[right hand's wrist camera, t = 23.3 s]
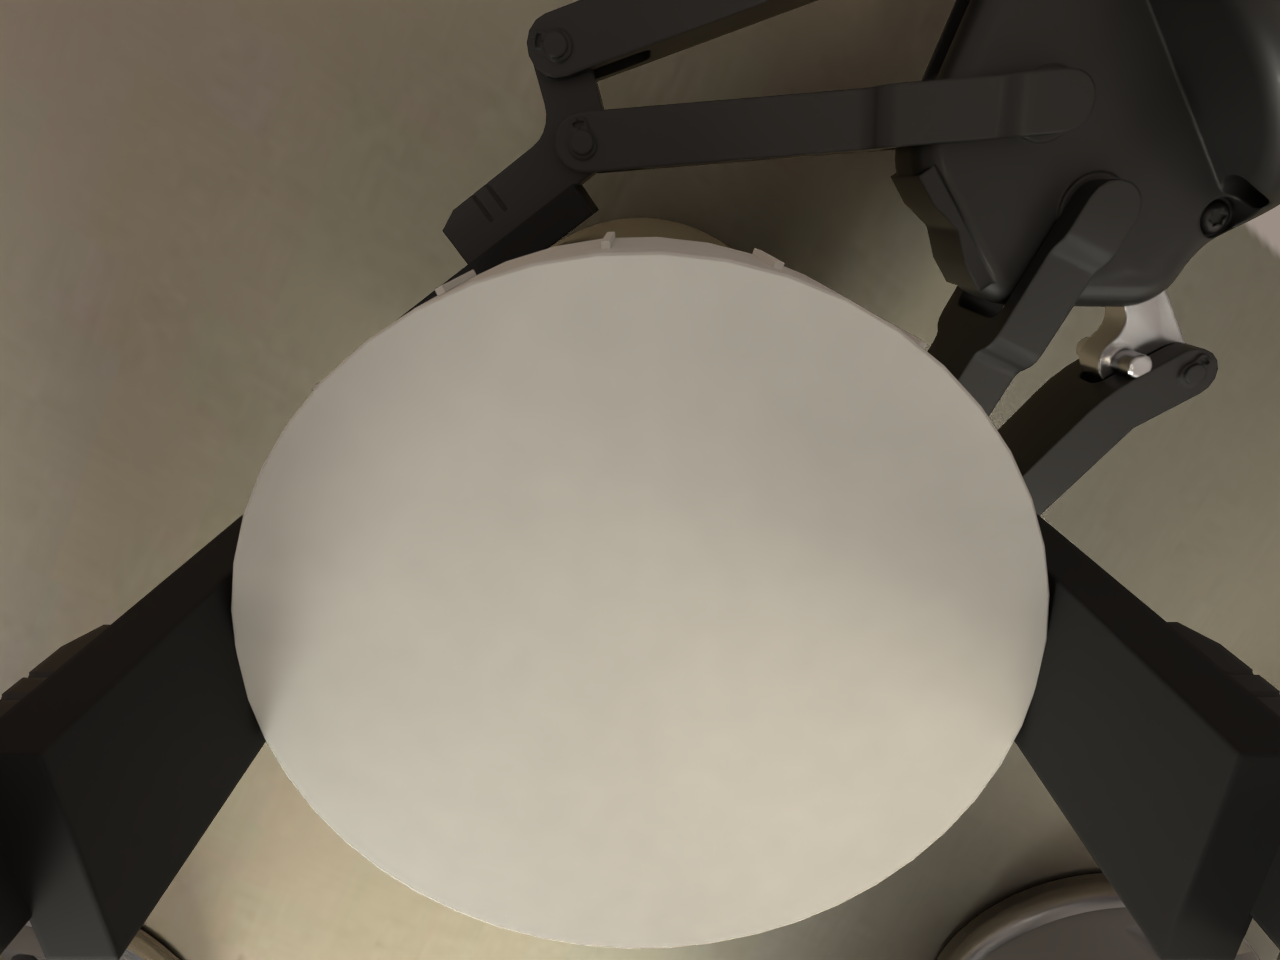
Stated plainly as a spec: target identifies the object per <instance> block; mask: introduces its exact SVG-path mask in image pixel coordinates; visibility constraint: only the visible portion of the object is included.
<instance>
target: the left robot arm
mask: <svg viewBox="0 0 1280 960" xmlns="http://www.w3.org/2000/svg"><path fill="white" fill-rule="evenodd" d="M814 1H817V0H579V1H577V2H574V3H571V4H569V5H566V6H564V7H561V8H558V9H556V10H553V11H551V12H548V13H545V14H544V15H542V16H541V17H539V18H538V19H536V21H535V22H534V24H533V25H532V27H531V28H530V30H529V35H528V40H527V46H528V53H529V57H530V58H531V60H532V62H533V64H534V68H535V71H536V75H537V78H538V82H539V85H540V89H541V92H542V96H543V99H544V103H545V108H546V125H545V129H544V132H543V134H542V136H541V138H540V139H539V141H538V142H537V143H536V144H535V145H534V146H533V147H532V148H531V149H529V150H528V151H527V152H526V153H524V154H523V155H522V156H521V157H519V158H518V159H517V160H516V161H514V162H513V163H512V164H511V165H509V166H508V167H507V168H506V169H504V170H503V171H502V172H501V173H499V174H498V175H497V176H496V177H494V178H493V179H492V180H491V181H489V182H488V183H487V184H486V185H484V186H483V187H482V188H481V189H479V190H478V191H477V192H476V193H475V194H474V195H472V196H471V197H469V198H468V199H467V200H466V201H464V202H463V203H462V204H461V205H459V206H458V207H457V208H456V209H454V210H453V212H452V214H451V216H450V218H449V220H448V221H447V223H446V225H445V227H444V229H443V232H444V234H445V235H446V236H447V237H448V239H449V240H450V241H451V243H452V244H453V245H454V247H455V248H456V249H457V251H458V252H459V253H460V255H461V256H462V257H463V259H464V260H465V261H466V262H467V264H468V265H467V266H466V267H465V268H463V269H462V270H461V271H459V272H458V273H457V274H455V275H454V276H453V277H452V278H450V279H449V280H448V281H446V282H445V283H447V282H449V281H451V280H453V279H455V278H457V277H459V276H461V275H463V274H465V273H467V272H469V271H471V270H474V271H475V273H476V275H478V274H480V273H483V272H485V271H487V270H489V269H491V268H493V267H495V266H497V265H500V264H502V263H504V262H506V261H509V260H512V259H515V258H519V257H522V256H525V255H528V254H532V253H535V252H538V251H541V250H545V249H548V248H549V247H550V246H552V245H553V244H554V243H556V242H557V241H558V240H560V239H561V238H562V237H564V236H565V235H566V234H568V233H569V232H570V231H572V230H573V229H574V228H575V227H577V226H578V225H579V224H581V223H582V222H583V221H585V220H586V219H587V218H589V217H590V216H591V215H593V214H594V213H595V212H597V211H598V210H599V209H598V208H597V206H596V205H595V203H594V202H593V200H592V199H591V198H590V196H589V195H588V193H587V192H586V190H585V189H584V187H583V186H582V184H583V183H584V182H586V181H587V180H588V179H590V178H591V177H592V176H594V175H595V174H596V173H607V172H620V171H632V170H644V169H657V168H669V167H681V166H694V165H706V164H718V163H731V162H743V161H755V160H768V159H780V158H792V157H805V156H817V155H829V154H845V153H858V152H871V151H883V150H895V149H896V150H895V165H896V172H897V173H895V174H894V175H893V176H891V179H892V181H893V182H894V184H895V186H896V188H897V190H898V192H899V194H900V196H901V197H902V199H903V201H904V203H905V204H906V205H907V206H908V207H909V208H910V209H911V210H912V211H913V212H914V213H915V214H916V215H917V216H918V217H919V218H920V219H921V220H922V221H923V222H924V223H925V224H926V226H927V229H928V234H929V239H930V243H931V248H932V253H933V257H934V259H935V261H936V263H937V265H938V267H939V268H940V270H941V272H942V274H943V276H944V278H945V280H946V281H947V282H950V283H953V284H956V285H958V286H957V288H956V289H955V291H954V293H953V295H952V296H951V298H950V300H949V301H948V303H947V305H946V306H945V308H944V310H943V312H942V314H941V316H940V318H939V321H938V333H937V336H936V338H935V340H934V341H933V343H932V345H931V347H930V348H929V350H928V353H929V354H931V355H932V356H933V357H934V358H936V359H937V360H938V361H939V362H940V363H942V364H943V365H944V366H945V367H946V368H947V369H948V370H949V371H950V372H951V374H952V375H953V376H954V377H955V378H956V379H957V380H958V381H959V382H960V383H961V385H962V386H963V387H964V388H965V389H966V390H967V391H968V392H969V393H970V394H971V396H972V397H973V398H974V399H975V400H976V401H977V402H978V403H979V404H980V406H981V407H982V408H983V410H984V411H985V413H986V414H987V416H988V417H989V415H990V414H991V412H992V410H993V409H994V407H995V406H996V404H997V403H998V401H999V400H1000V398H1001V396H1002V395H1003V393H1004V392H1005V390H1006V389H1007V387H1008V386H1009V384H1010V383H1011V381H1012V379H1013V378H1014V377H1015V376H1016V374H1018V373H1019V372H1020V371H1022V370H1025V369H1027V368H1029V367H1031V366H1032V365H1033V364H1034V363H1036V361H1037V360H1038V359H1039V358H1040V356H1041V355H1042V354H1043V352H1044V351H1045V349H1046V348H1047V346H1048V344H1049V343H1050V341H1051V340H1052V338H1053V337H1054V335H1055V334H1056V332H1057V331H1058V329H1059V328H1060V326H1061V325H1062V323H1063V322H1064V320H1065V318H1066V317H1067V315H1068V314H1069V312H1070V311H1071V309H1072V308H1073V306H1101V307H1105V317H1104V320H1103V322H1102V324H1101V326H1100V327H1099V329H1098V330H1097V331H1096V332H1095V333H1094V334H1092V335H1091V336H1090V337H1085V338H1083V339H1082V340H1080V342H1079V343H1078V344H1077V347H1076V352H1077V354H1078V356H1079V359H1078V360H1076V361H1075V362H1073V363H1071V364H1070V365H1068V366H1066V367H1065V368H1064V369H1062V370H1061V371H1060V372H1058V373H1057V374H1056V375H1054V376H1053V377H1052V378H1051V379H1050V380H1048V381H1047V382H1046V383H1045V384H1044V385H1043V386H1042V387H1041V388H1040V389H1039V390H1038V391H1037V392H1036V393H1035V394H1034V395H1033V396H1032V397H1031V398H1030V399H1029V400H1028V401H1027V402H1026V403H1025V404H1024V405H1023V406H1022V407H1021V408H1020V409H1019V410H1018V411H1017V412H1016V413H1015V414H1014V415H1013V416H1012V417H1011V418H1010V419H1009V420H1008V421H1007V422H1006V423H1004V424H1003V425H1002V426H1001V427H1000V428H999V429H998V430H997V431H998V432H999V434H1000V435H1001V437H1002V438H1003V440H1004V442H1005V443H1006V445H1007V446H1008V448H1009V449H1010V451H1011V453H1012V455H1013V457H1014V459H1015V461H1016V464H1017V466H1018V468H1019V470H1020V473H1021V475H1022V477H1023V479H1024V482H1025V484H1026V486H1027V488H1028V490H1029V493H1030V495H1031V497H1032V500H1033V504H1034V508H1035V512H1036V514H1037V515H1039V516H1040V515H1041V514H1042V513H1043V512H1044V511H1045V510H1046V509H1047V508H1048V507H1049V506H1050V505H1051V504H1052V503H1053V502H1055V501H1056V500H1057V499H1058V498H1059V497H1060V496H1061V495H1062V494H1063V493H1064V492H1065V491H1066V490H1067V489H1068V488H1070V487H1071V486H1072V485H1073V484H1074V483H1075V482H1076V481H1077V480H1078V479H1079V478H1080V477H1081V476H1082V475H1083V474H1085V473H1086V472H1087V471H1088V470H1089V469H1090V468H1091V467H1092V466H1093V465H1094V464H1095V463H1096V462H1097V461H1098V460H1100V459H1101V458H1102V457H1103V456H1104V455H1105V454H1106V453H1107V452H1108V451H1109V450H1110V449H1111V448H1112V447H1113V446H1115V445H1116V444H1117V443H1118V442H1119V441H1120V440H1121V439H1122V438H1123V437H1124V436H1125V435H1126V434H1127V433H1128V432H1129V431H1131V430H1132V429H1133V428H1134V427H1136V426H1138V425H1140V424H1142V423H1144V422H1146V421H1148V420H1150V419H1151V418H1153V417H1155V416H1157V415H1159V414H1161V413H1163V412H1165V411H1167V410H1169V409H1171V408H1173V407H1175V406H1176V405H1178V404H1180V403H1182V402H1184V401H1186V400H1188V399H1190V398H1192V397H1194V396H1196V395H1198V394H1200V393H1201V392H1202V391H1204V390H1205V389H1206V388H1208V387H1209V386H1210V384H1211V383H1212V382H1213V380H1214V379H1215V376H1216V373H1217V370H1218V365H1217V359H1216V358H1215V356H1214V355H1213V353H1211V352H1209V351H1207V350H1205V349H1202V348H1199V347H1195V346H1192V345H1188V344H1186V343H1185V342H1184V340H1183V337H1182V334H1181V332H1180V329H1179V326H1178V323H1177V320H1176V318H1175V315H1174V312H1173V309H1172V306H1171V304H1170V301H1169V298H1168V295H1167V293H1166V290H1165V289H1167V288H1168V287H1169V286H1170V285H1171V284H1172V283H1173V281H1174V280H1175V279H1176V277H1177V276H1178V275H1179V273H1180V272H1181V270H1182V269H1183V268H1184V266H1185V265H1186V264H1187V262H1188V261H1189V260H1190V259H1191V258H1192V257H1193V256H1194V255H1195V253H1196V252H1197V251H1198V250H1199V249H1201V248H1202V247H1203V246H1204V245H1205V244H1206V243H1208V242H1209V241H1210V240H1212V239H1214V238H1215V237H1217V236H1219V235H1221V234H1223V233H1225V232H1227V231H1229V230H1231V229H1233V228H1235V227H1237V226H1239V225H1242V224H1244V223H1246V222H1248V221H1250V220H1252V219H1254V218H1256V217H1258V216H1260V215H1262V214H1263V213H1265V212H1267V211H1269V210H1271V209H1273V208H1274V207H1276V206H1278V205H1279V204H1280V0H956V2H955V4H954V6H953V9H952V11H951V13H950V16H949V18H948V20H947V23H946V25H945V27H944V30H943V32H942V34H941V37H940V39H939V41H938V44H937V46H936V48H935V51H934V53H933V55H932V58H931V60H930V62H929V65H928V67H927V69H926V72H925V74H924V76H923V79H922V81H917V82H905V83H895V84H887V85H881V86H875V87H869V88H861V89H849V90H837V91H825V92H813V93H801V94H789V95H777V96H765V97H753V98H741V99H729V100H717V101H705V102H693V103H681V104H669V105H657V106H645V107H633V108H621V109H609V110H604V107H603V103H602V99H601V95H600V91H599V87H598V84H597V81H600V80H603V79H605V78H608V77H611V76H613V75H616V74H619V73H622V72H624V71H627V70H630V69H632V68H635V67H638V66H641V65H643V64H646V63H649V62H651V61H654V60H657V59H660V58H662V57H665V56H668V55H670V54H673V53H676V52H679V51H681V50H684V49H687V48H689V47H692V46H695V45H698V44H700V43H703V42H706V41H708V40H711V39H714V38H717V37H719V36H722V35H725V34H727V33H730V32H733V31H735V30H738V29H741V28H744V27H746V26H749V25H752V24H754V23H757V22H760V21H763V20H765V19H768V18H771V17H773V16H776V15H779V14H782V13H784V12H787V11H790V10H792V9H795V8H798V7H801V6H803V5H806V4H809V3H811V2H814ZM445 283H444V284H445ZM436 296H438V295H437V294H436V292H435V291H433V292H432V293H431V294H430V295H428V296H427V297H426V298H424V299H423V300H422V301H421V302H419V303H418V304H417V305H415V306H414V307H413V308H412V309H410V310H409V311H408V312H410V311H411V310H413V309H414V308H416V307H418V306H420V305H421V304H423V303H425V302H427V301H429V300H430V299H432V298H434V297H436ZM1003 306H1004V307H1003ZM408 312H406V313H405V314H407V313H408ZM405 314H404V315H405ZM404 315H402V316H404ZM402 316H401V317H402ZM401 317H400V318H401ZM397 320H398V319H397ZM937 960H1161V959H1160V957H1159V956H1158V954H1157V953H1156V951H1155V950H1154V948H1153V947H1152V945H1151V944H1150V942H1149V941H1148V939H1147V938H1146V936H1145V935H1144V933H1143V932H1142V930H1141V929H1140V927H1139V926H1138V924H1137V923H1136V921H1135V920H1134V918H1133V917H1132V915H1131V914H1130V912H1129V911H1128V909H1127V908H1126V906H1125V905H1124V903H1123V902H1122V900H1121V899H1120V897H1119V896H1118V894H1117V893H1116V891H1115V890H1114V889H1113V887H1112V886H1111V884H1110V883H1109V881H1108V880H1107V878H1106V877H1105V875H1104V874H1103V873H1096V874H1087V875H1079V876H1074V877H1069V878H1063V879H1059V880H1055V881H1051V882H1048V883H1044V884H1041V885H1038V886H1035V887H1032V888H1030V889H1027V890H1024V891H1022V892H1020V893H1017V894H1015V895H1013V896H1011V897H1009V898H1007V899H1004V900H1003V901H1001V902H999V903H997V904H995V905H994V906H992V907H990V908H989V909H987V910H986V911H984V912H983V913H981V914H980V915H978V916H977V917H975V918H974V919H973V920H972V921H970V922H969V923H968V924H967V925H965V926H964V927H963V928H962V929H961V930H960V931H959V932H958V933H957V934H956V935H955V936H954V937H953V938H952V939H951V940H950V942H949V943H948V944H947V945H946V946H945V948H944V949H943V951H942V952H941V954H940V955H939V956H938V958H937ZM1235 960H1259V958H1258V956H1257V954H1256V953H1255V951H1254V950H1253V948H1252V947H1251V946H1250V945H1249V943H1248V942H1247V941H1246V940H1245V938H1244V939H1243V941H1242V943H1241V946H1240V948H1239V950H1238V953H1237V955H1236V957H1235Z"/></svg>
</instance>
